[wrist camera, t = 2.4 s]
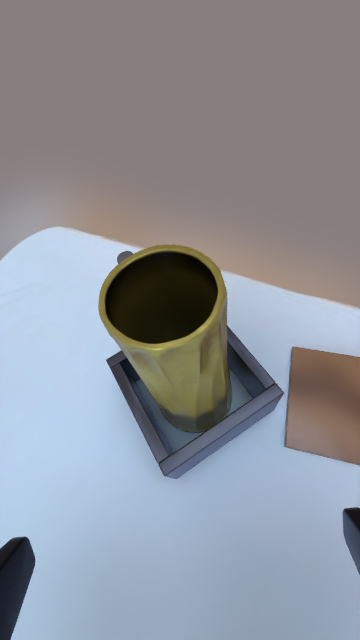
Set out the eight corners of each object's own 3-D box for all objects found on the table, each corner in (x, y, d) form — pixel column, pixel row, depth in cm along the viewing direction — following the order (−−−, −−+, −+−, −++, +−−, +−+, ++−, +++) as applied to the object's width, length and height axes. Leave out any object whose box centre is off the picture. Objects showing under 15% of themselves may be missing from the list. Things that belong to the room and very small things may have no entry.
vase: (218, 445, 21) (208, 385, 9) (146, 416, 23) (57, 334, 11) (240, 371, 24) (255, 249, 12) (174, 351, 26) (127, 227, 14)
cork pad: (412, 478, 19) (415, 477, 18) (284, 446, 21) (285, 446, 20) (398, 365, 22) (401, 363, 22) (291, 348, 24) (292, 346, 24)
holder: (274, 409, 22) (315, 339, 12) (175, 479, 20) (125, 468, 10) (202, 320, 27) (188, 216, 17) (119, 370, 25) (48, 290, 15)
